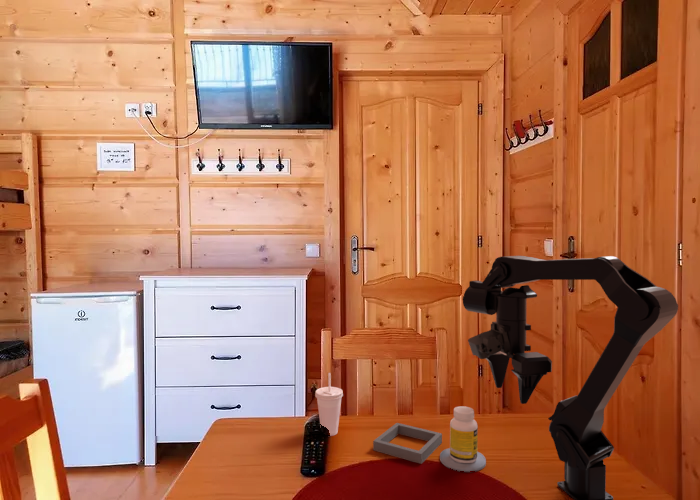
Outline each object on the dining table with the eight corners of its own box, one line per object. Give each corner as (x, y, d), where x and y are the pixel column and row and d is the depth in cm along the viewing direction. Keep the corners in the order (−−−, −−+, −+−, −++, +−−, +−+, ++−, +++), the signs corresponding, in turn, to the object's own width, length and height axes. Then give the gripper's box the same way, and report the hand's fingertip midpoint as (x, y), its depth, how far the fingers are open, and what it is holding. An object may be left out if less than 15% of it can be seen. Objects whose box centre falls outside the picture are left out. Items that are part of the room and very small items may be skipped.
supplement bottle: (478, 465, 89) (478, 416, 89) (449, 463, 91) (449, 414, 90) (476, 452, 95) (476, 405, 94) (449, 450, 96) (449, 403, 95)
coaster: (494, 469, 89) (494, 466, 89) (450, 474, 87) (450, 471, 87) (473, 448, 98) (473, 445, 98) (433, 452, 96) (433, 449, 96)
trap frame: (442, 442, 101) (442, 433, 101) (421, 463, 91) (421, 454, 91) (396, 431, 107) (396, 422, 107) (373, 450, 97) (373, 440, 97)
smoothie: (318, 440, 102) (318, 377, 102) (313, 428, 109) (312, 369, 108) (346, 436, 104) (346, 375, 104) (339, 425, 110) (339, 367, 110)
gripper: (454, 312, 100) (453, 383, 100) (498, 329, 82) (497, 416, 82) (501, 310, 102) (500, 379, 103) (554, 327, 84) (553, 411, 84)
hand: (510, 395), depth 93 cm, fingers open, 9 cm apart
